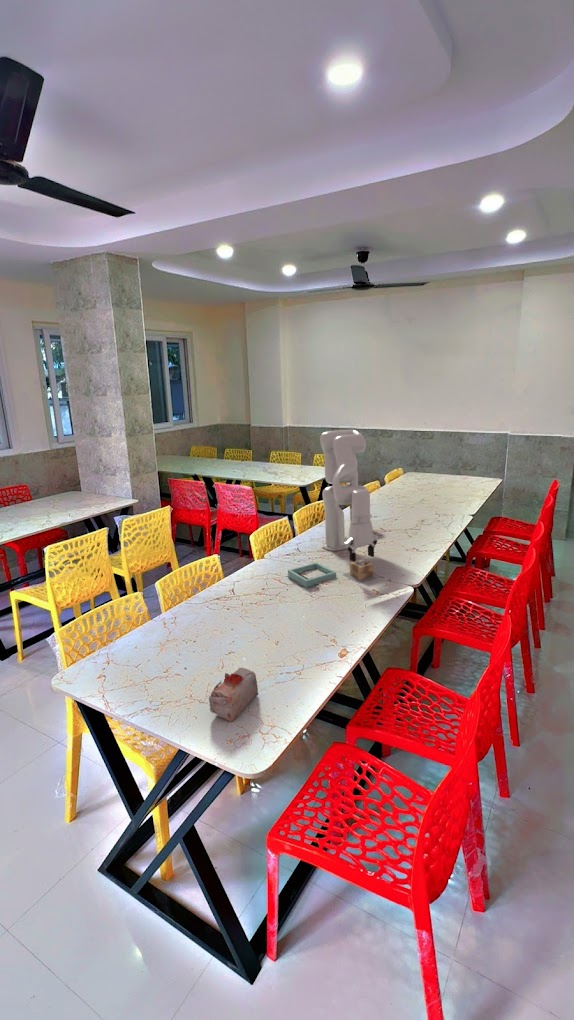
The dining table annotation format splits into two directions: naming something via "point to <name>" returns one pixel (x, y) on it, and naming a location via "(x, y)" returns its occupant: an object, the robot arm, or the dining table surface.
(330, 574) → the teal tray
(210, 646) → the dining table surface
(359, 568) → the oak collar
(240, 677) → the food item
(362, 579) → the stake stand
